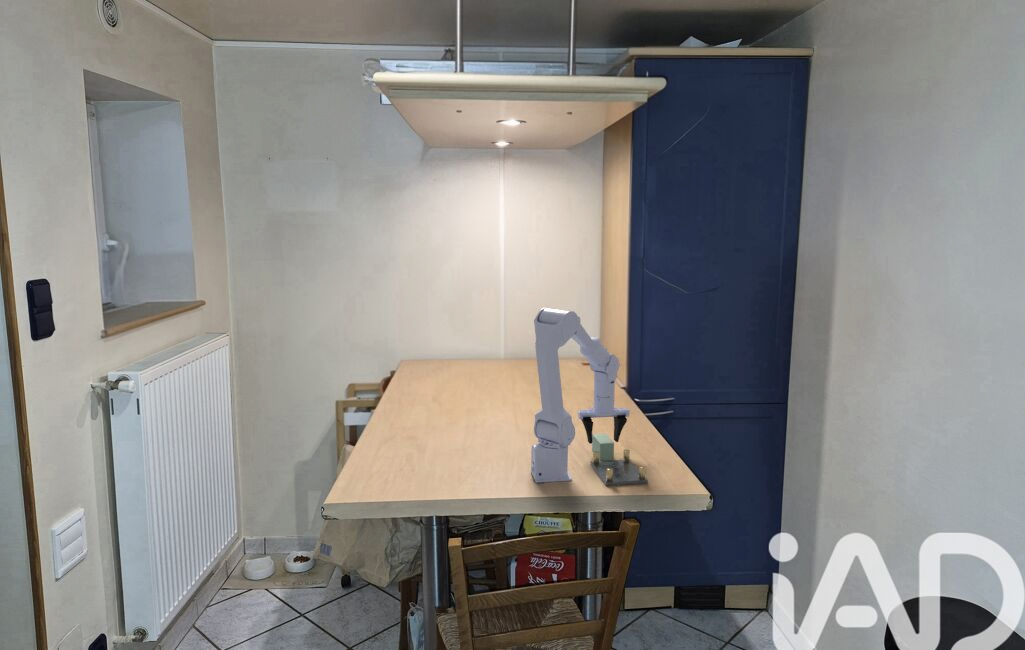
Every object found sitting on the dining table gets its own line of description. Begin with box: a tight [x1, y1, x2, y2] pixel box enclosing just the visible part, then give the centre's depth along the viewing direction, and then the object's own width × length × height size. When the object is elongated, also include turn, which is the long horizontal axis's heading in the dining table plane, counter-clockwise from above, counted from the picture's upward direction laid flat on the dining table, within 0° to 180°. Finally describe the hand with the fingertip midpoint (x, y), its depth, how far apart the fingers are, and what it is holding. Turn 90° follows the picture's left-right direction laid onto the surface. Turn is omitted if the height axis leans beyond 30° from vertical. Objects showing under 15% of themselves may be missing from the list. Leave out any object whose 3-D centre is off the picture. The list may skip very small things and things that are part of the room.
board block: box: [591, 433, 615, 461], centre depth 197 cm, size 4×8×5 cm, turn 9°
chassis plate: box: [590, 448, 649, 487], centre depth 183 cm, size 11×15×4 cm
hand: (603, 441), depth 197 cm, fingers open, 7 cm apart
